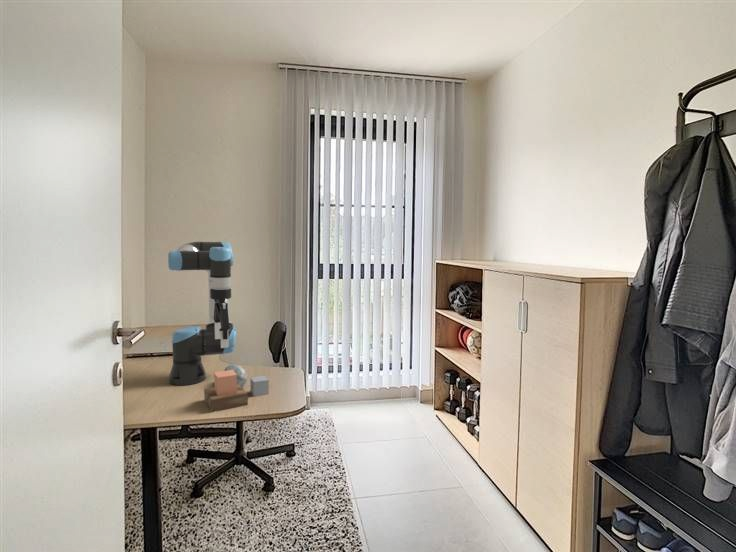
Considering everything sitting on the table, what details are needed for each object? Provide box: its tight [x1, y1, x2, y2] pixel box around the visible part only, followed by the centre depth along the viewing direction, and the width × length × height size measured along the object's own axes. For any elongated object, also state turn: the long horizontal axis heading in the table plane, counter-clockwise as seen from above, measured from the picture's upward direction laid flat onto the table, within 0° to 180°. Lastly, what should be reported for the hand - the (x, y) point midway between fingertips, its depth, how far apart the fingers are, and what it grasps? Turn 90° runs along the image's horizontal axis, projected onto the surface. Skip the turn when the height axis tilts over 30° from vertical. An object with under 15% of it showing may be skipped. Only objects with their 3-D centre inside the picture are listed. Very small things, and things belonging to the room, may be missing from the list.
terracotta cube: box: [213, 370, 237, 396], centre depth 164 cm, size 7×7×7 cm
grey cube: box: [249, 375, 270, 397], centre depth 175 cm, size 6×6×6 cm
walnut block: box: [203, 383, 249, 413], centre depth 164 cm, size 13×13×5 cm
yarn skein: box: [223, 363, 248, 388], centre depth 184 cm, size 14×10×10 cm
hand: (221, 343), depth 164 cm, fingers open, 13 cm apart
